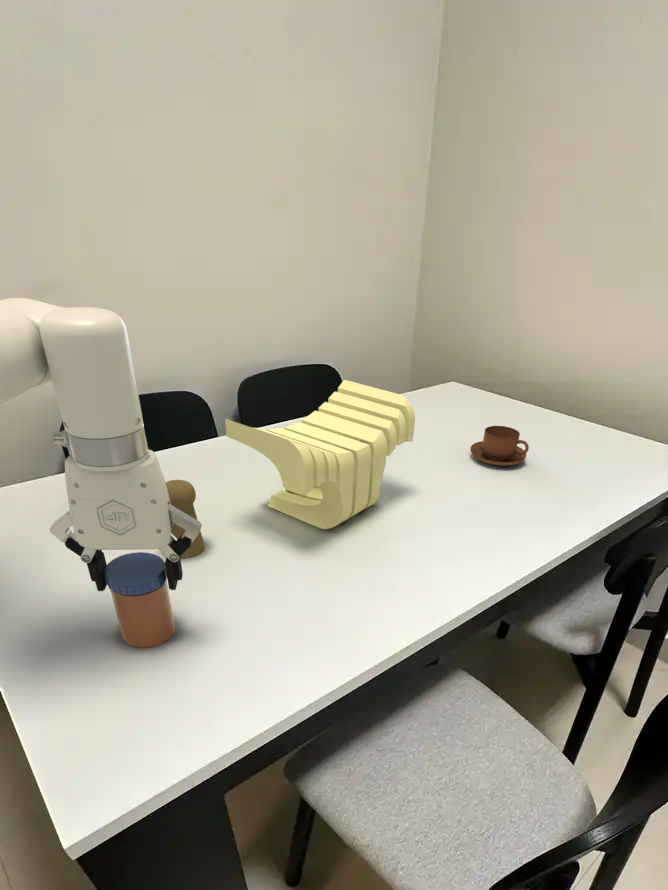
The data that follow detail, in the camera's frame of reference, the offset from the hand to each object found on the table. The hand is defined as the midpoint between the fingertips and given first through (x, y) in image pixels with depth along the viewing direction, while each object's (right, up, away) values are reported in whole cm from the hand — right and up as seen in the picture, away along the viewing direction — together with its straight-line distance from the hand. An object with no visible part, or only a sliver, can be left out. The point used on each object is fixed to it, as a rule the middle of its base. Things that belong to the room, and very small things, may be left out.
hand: (139, 583), depth 71 cm
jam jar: (0, -6, +5) cm, 8 cm away
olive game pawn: (0, +7, +21) cm, 22 cm away
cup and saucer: (+58, +31, +57) cm, 87 cm away
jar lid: (0, +2, -1) cm, 2 cm away
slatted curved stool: (+21, +16, +35) cm, 44 cm away
